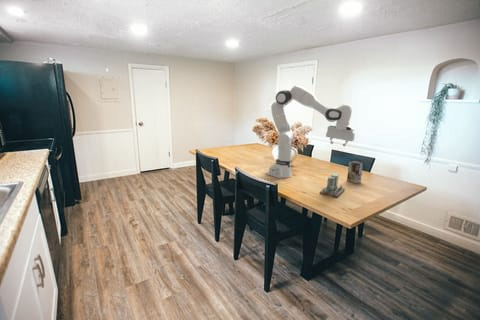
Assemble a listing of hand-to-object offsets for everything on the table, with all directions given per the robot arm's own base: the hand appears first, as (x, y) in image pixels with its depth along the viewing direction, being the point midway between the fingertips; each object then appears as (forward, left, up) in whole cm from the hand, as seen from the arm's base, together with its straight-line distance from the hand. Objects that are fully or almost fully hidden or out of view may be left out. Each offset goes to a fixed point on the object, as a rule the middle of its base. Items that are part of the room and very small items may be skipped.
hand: (337, 145), depth 188 cm
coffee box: (+11, +17, -32) cm, 38 cm away
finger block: (+5, -16, -30) cm, 34 cm away
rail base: (+5, -19, -31) cm, 37 cm away
